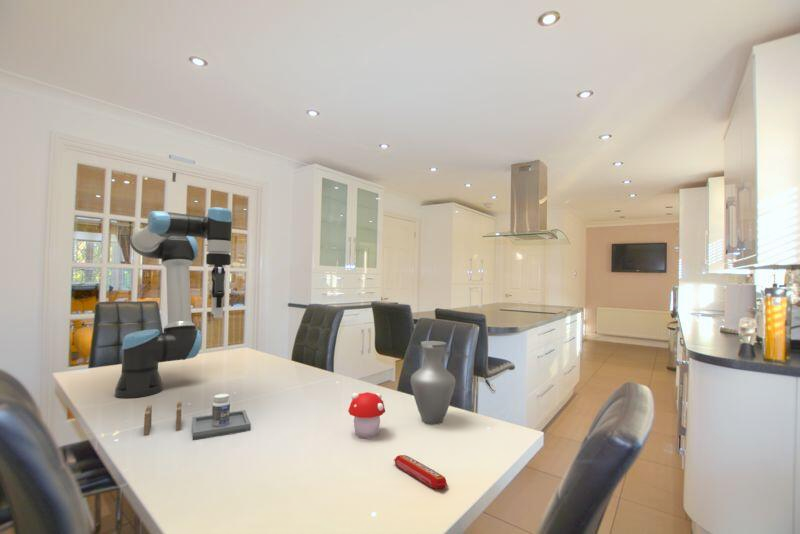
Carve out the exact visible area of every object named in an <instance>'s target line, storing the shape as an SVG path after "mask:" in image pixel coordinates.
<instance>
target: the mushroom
mask: <svg viewBox="0 0 800 534" xmlns="http://www.w3.org/2000/svg"><path fill="white" fill-rule="evenodd" d="M382 397H383V396H382V394H381V392H380V393H379V392H376V393H373V392H369V391H366V392H363V393H362V392H361V393H358V392H353V393H352V394H351V399H352V400H351V402H350V405H349V408H348V411H347V412H348V413H349V416H353V426H354V433H355V437H358V438H361V439H372V438H375V437H377V436H378V435H379V431H380V424H381V416H382V415H384V414H385V412H386V408H385V404H384V400H382Z"/></svg>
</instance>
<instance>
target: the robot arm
mask: <svg viewBox="0 0 800 534" xmlns="http://www.w3.org/2000/svg"><path fill="white" fill-rule="evenodd" d="M232 227H233V211H232V210H231V209H229V208H225V207H218V206H215V207H209V208H208V209H207V215H206V216H202V215H194V214H185V213H178V212H170V211H169V212H168V211H164V210H161V211H160V210H152V211H150V212H149V213H148V217H147V225H146V226H144V228H143V227H142V228H139V229H136V230H135V231H134V232H132V234H131V235H130V238H129V244H130V247H131V249H132V250H133V251H134V252H135V253H137V254H138V255H140V256H142V257H144V258H148V259H154V260H155V259H156V260H158V259H159V260H161V265H163V266H164V267H165V270H166V273H165V274H166V276H165V277H166V278H165V279H166V303H167V305H166V306H167V307H166V308H167V310H166V311H167V324H166V325H165V326H164V328H163V332H161V331H160V330H159V329H157V328H155V329H145V330H138V331H134V332H130V333H128V334H126V335H125V336H124V337H123V339H122V347H121V350H122V353H121V356H122V357H121V374H120V377H119V379H118V382H117V384H116V387H115V390H114V396H115V397H116V398H121V399H133V398H134V399H136V398H140V397H141V398H142V397H148V396H151V395H155V394H159V393H161V392H162V391H163V385H164V384H163V381H162V377H161V376H160V372H159V364H160V363H166V362H173V361H182V360H183V361H185V360H188V359H194V358H195V357H196V356H198V354H199V352H200V350H201V347H202V340H203V339H202V338H203V337H202V336H203V335H202V332H201V330H199V329H197V328H196V327H197V326H196V324H195V323H193V321H192V306H191V305H192V304H191V302H192V301H191V299H192V298H191V281H190V280H191V279H190V278H191V277H190V267H191V266H192V265H193V264H194V261H195V260H197V258H198V252H199V248H198V242H197V239H196V238H200V239H206V242H205V243H204V246H205V247H206V252H207V254H206V258H205V263H206V265H210V266H213V268H212V270H211V271H210V272H211V273H210V274H211V281H212V286H211V308H210V309H211V310H210V311H211V313H210V314H211V315H213V319H222V318H224V297H225V276H226V270H225V267H224V266H230V265H231V257H232V256H231V253H232V231H233V230H232Z"/></svg>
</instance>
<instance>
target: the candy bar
mask: <svg viewBox="0 0 800 534" xmlns="http://www.w3.org/2000/svg"><path fill="white" fill-rule="evenodd" d="M392 461H393V462H394V463H395V464H394V465H396V466H397V467H398V468H399V469H401V470H402V471H404V472H405V473H407V474H409V475H410V476H412V477H414V478H416V479H417V480H419V481H421V482H422V483H423V484H425V485H426V486H429V487H431V488H434V489H443V488H445V487H449V485H448V483H447V479H446V477H445V476H444V475H442V474H441V473H439V472H437V471H435V470H434V469H432V468H430V467H429V466H426V465H425V464H423V463H421V462H419V461H417V460H416V459H414V458H413V457H410V456H409V455H405V454H404V455H403V454H399V455H397V456H396V457H395V458H394V459H393V460H392Z"/></svg>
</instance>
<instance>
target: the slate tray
mask: <svg viewBox="0 0 800 534" xmlns="http://www.w3.org/2000/svg"><path fill="white" fill-rule="evenodd" d="M191 420H192V421H191V422H192V423H191V425H192V426H191V430H192V431H191V432H192V441H195V440H202V439H207V438H208V439H209V438H212V437H213V438H215V437H221V436H225V435H226V436H227V435H232V434H237V433H243V432H244V433H245V432H249V431H250V430H251V428H252V427H251V426H252V424H251V423H252V422H251V421H250V419H249V416H248V414H247V412H246V410H245V409H242V410H237V411H236V410H235V411H230V414H229V423H228V424H227V425H224V426H213V425H212V414H208V415H200V416H193V417H192V419H191Z"/></svg>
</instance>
